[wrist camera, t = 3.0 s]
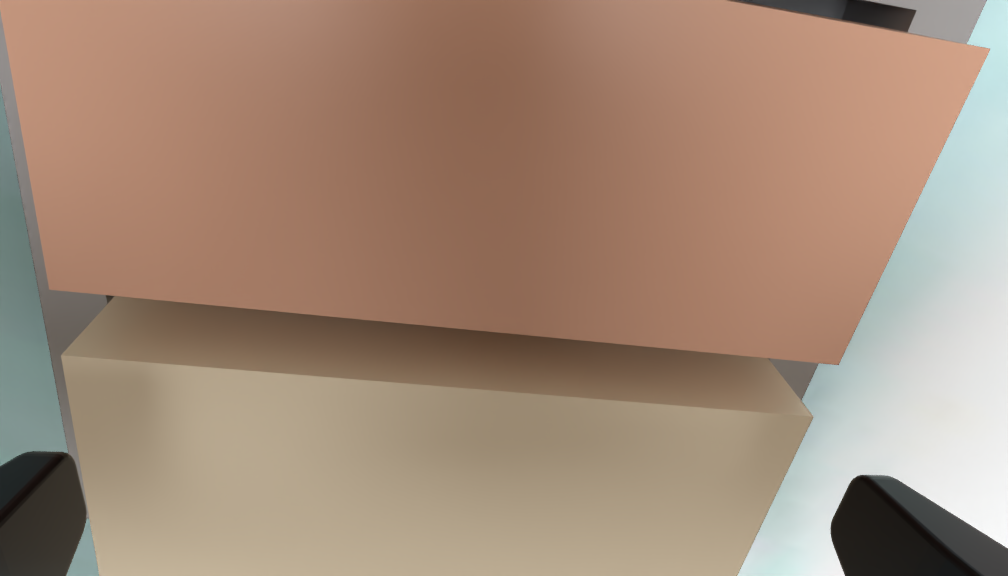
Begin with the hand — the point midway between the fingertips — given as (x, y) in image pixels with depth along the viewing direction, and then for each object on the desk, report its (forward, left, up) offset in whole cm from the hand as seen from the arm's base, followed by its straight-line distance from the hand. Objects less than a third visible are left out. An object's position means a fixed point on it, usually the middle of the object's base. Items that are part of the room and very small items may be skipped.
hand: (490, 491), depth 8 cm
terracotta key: (0, +3, -5) cm, 6 cm away
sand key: (0, -2, -5) cm, 5 cm away
